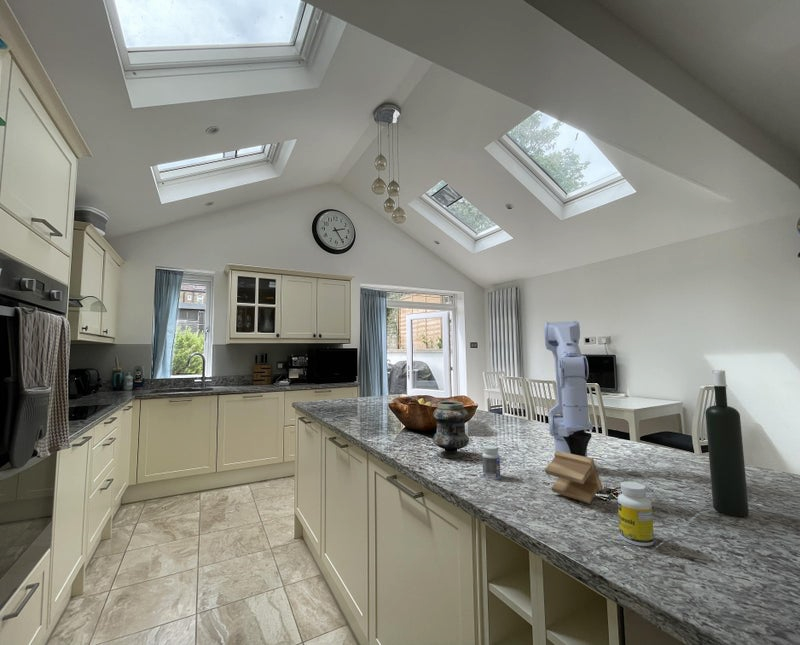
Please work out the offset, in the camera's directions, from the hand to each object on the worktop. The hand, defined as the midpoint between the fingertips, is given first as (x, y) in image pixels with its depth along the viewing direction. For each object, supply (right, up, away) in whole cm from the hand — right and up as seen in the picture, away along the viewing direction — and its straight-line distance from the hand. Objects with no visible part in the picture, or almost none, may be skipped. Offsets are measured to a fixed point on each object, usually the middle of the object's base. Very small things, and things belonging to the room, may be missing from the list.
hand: (578, 463), depth 89 cm
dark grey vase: (-26, -11, +35) cm, 45 cm away
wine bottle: (+28, -7, -9) cm, 31 cm away
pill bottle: (-17, -10, +14) cm, 24 cm away
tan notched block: (-4, -4, -3) cm, 7 cm away
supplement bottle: (+1, -6, -21) cm, 22 cm away
